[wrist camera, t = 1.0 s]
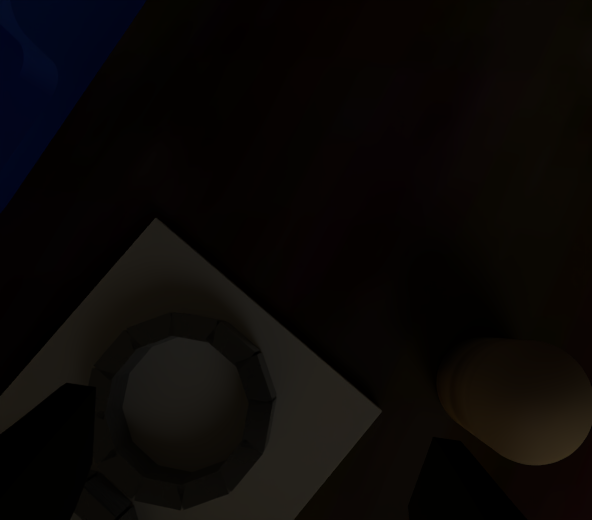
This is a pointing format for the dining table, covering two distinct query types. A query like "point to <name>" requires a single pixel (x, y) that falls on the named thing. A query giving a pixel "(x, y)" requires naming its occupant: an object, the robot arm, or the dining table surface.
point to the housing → (193, 394)
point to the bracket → (48, 71)
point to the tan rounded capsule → (517, 397)
